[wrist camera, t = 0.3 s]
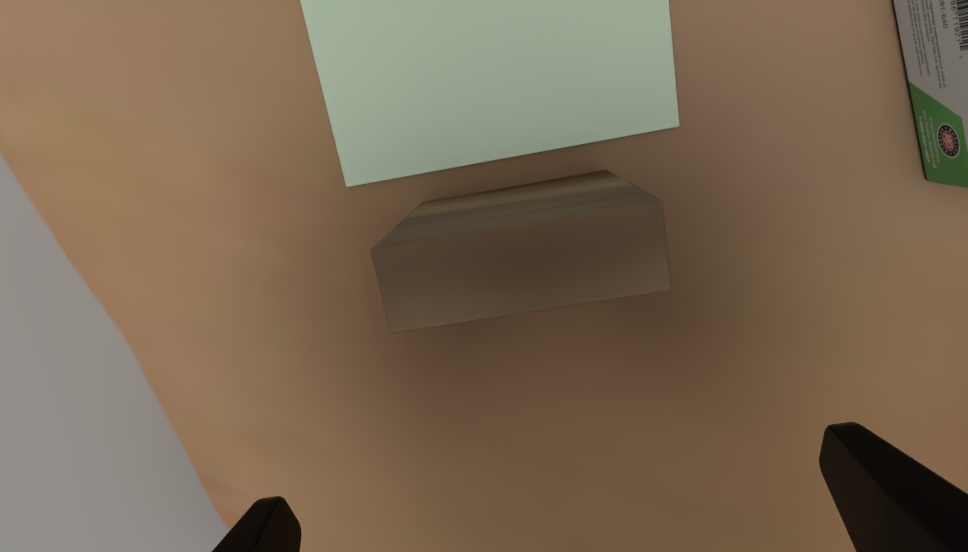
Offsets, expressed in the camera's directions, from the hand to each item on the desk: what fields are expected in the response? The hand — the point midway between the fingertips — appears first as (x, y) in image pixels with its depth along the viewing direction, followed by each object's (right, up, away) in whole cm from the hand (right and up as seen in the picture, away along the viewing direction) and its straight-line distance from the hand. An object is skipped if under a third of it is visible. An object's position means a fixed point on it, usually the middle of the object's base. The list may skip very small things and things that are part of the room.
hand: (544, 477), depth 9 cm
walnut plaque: (0, +6, +15) cm, 16 cm away
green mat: (-1, +15, +12) cm, 19 cm away
